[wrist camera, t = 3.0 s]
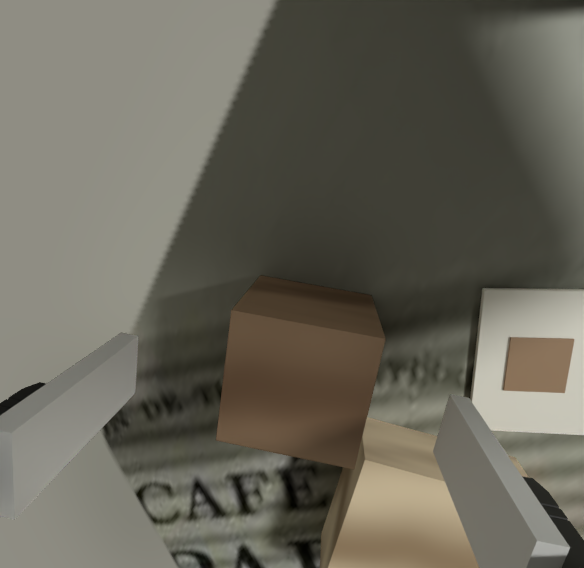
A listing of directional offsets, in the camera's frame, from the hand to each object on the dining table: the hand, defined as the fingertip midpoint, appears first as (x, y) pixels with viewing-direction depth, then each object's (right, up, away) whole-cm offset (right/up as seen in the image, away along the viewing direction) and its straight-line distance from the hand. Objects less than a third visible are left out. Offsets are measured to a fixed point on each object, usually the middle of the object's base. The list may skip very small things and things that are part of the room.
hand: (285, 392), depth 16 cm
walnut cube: (+1, +2, +5) cm, 6 cm away
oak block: (+8, -8, +7) cm, 13 cm away
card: (+13, 0, +4) cm, 14 cm away
